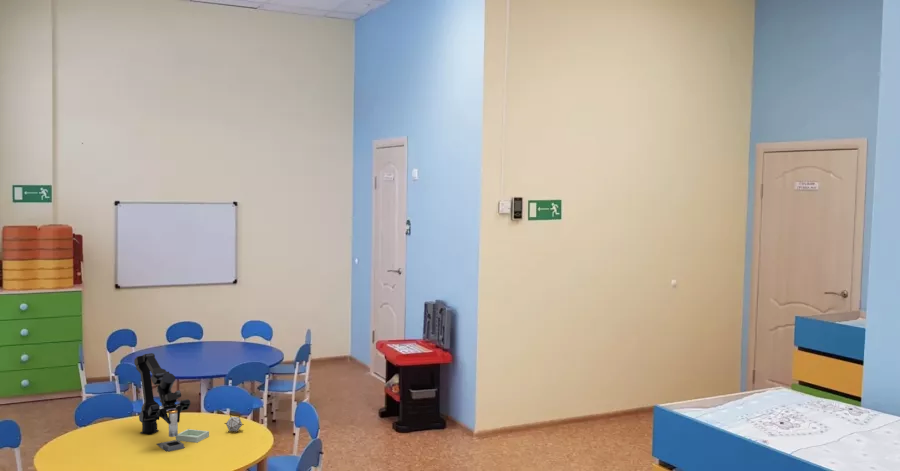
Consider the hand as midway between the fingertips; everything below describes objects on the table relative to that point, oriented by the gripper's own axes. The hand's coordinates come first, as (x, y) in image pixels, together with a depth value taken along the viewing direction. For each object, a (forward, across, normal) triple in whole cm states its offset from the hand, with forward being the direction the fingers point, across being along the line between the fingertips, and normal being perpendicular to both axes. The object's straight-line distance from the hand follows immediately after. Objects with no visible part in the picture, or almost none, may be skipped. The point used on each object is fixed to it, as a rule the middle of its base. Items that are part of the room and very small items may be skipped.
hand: (174, 422), depth 357 cm
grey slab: (+6, 0, +13) cm, 14 cm away
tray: (+3, +12, +16) cm, 21 cm away
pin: (+4, 0, +6) cm, 7 cm away
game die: (+3, +34, +17) cm, 38 cm away
